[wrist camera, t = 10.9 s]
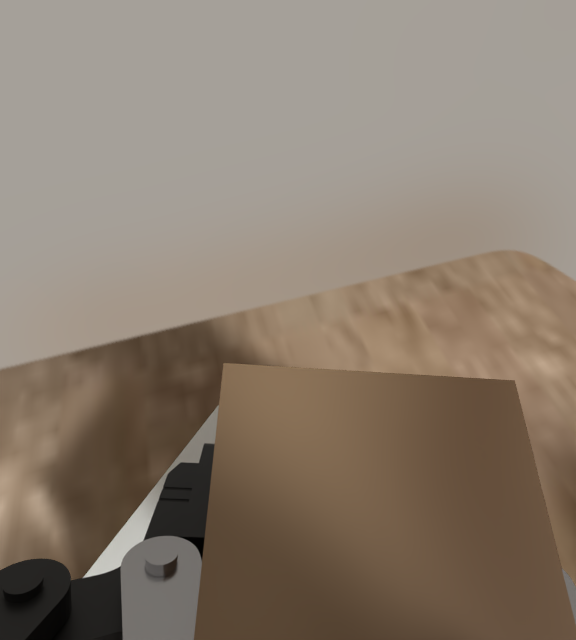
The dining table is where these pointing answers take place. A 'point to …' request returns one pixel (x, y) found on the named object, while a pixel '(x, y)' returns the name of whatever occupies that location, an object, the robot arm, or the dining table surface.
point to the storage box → (151, 504)
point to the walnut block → (376, 512)
